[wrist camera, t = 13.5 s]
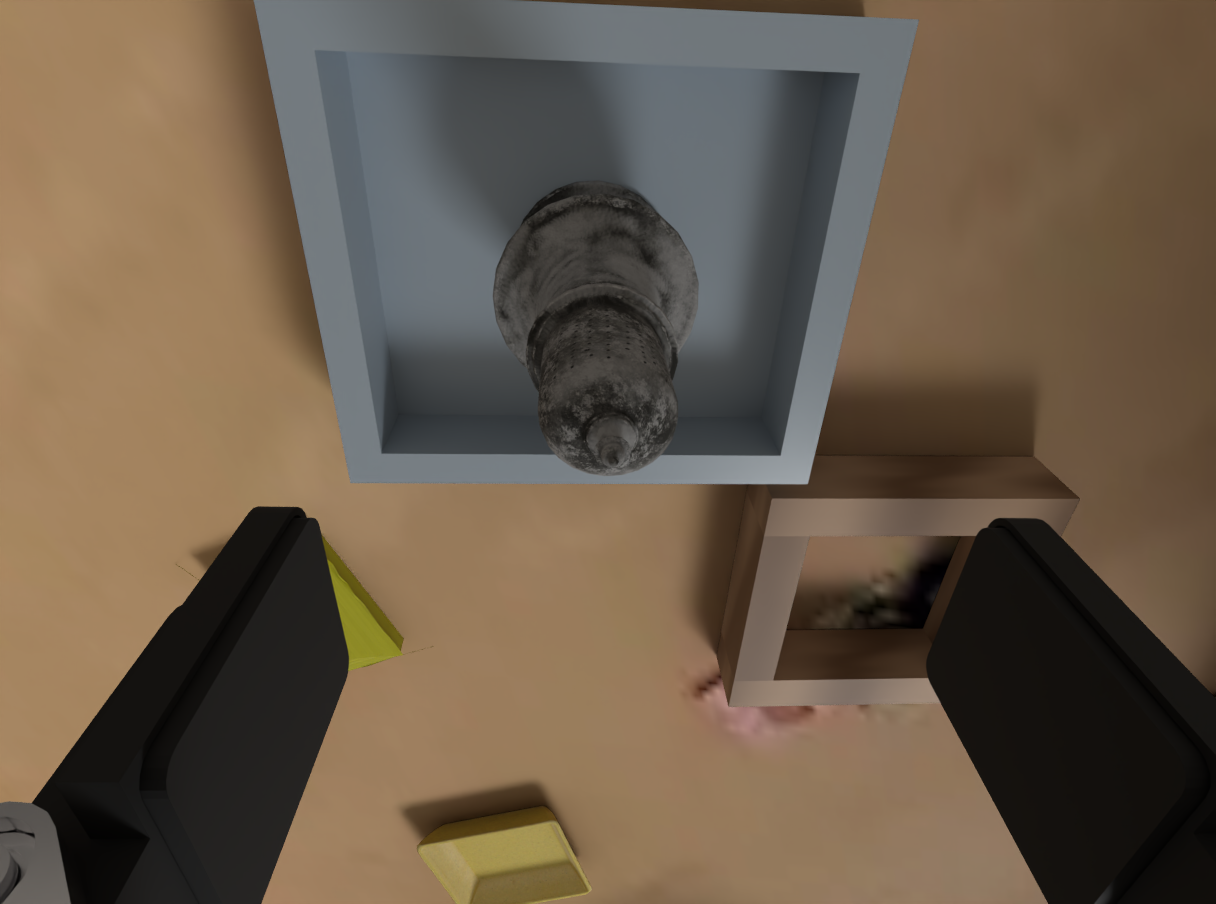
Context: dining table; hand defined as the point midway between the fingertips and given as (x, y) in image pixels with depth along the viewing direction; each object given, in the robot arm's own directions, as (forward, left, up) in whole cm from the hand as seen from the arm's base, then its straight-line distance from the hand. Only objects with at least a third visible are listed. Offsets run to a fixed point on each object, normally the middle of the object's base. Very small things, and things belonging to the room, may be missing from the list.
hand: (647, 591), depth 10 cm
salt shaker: (0, 0, -15) cm, 15 cm away
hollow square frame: (-12, +14, -16) cm, 24 cm away
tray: (+1, 0, -16) cm, 16 cm away
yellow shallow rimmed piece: (+5, +37, -16) cm, 40 cm away
